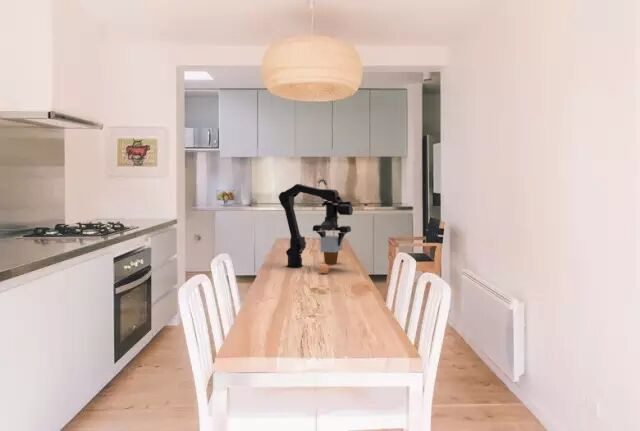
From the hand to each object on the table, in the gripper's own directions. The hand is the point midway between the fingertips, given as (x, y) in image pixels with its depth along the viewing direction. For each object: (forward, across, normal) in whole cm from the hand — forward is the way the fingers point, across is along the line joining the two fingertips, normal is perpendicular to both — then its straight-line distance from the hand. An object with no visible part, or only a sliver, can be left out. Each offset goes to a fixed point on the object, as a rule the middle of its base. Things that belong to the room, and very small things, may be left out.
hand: (331, 245), depth 248 cm
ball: (+10, 0, -11) cm, 15 cm away
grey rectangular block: (+2, 0, 0) cm, 3 cm away
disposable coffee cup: (+12, -7, +16) cm, 21 cm away
